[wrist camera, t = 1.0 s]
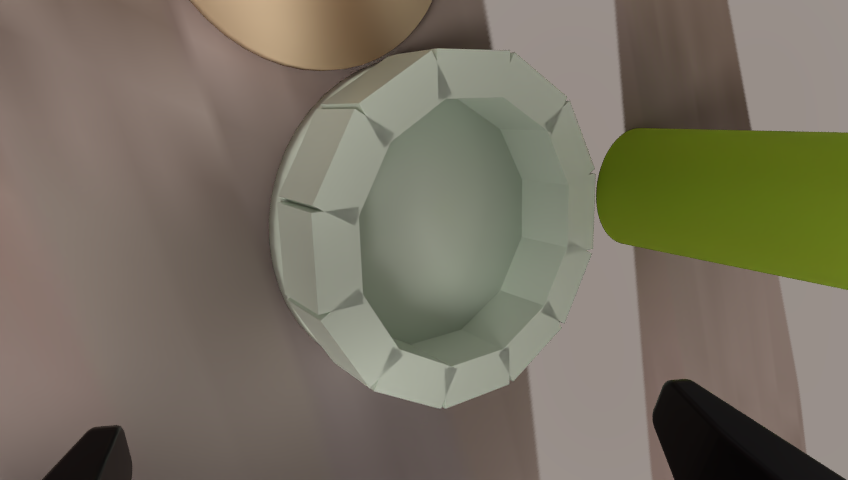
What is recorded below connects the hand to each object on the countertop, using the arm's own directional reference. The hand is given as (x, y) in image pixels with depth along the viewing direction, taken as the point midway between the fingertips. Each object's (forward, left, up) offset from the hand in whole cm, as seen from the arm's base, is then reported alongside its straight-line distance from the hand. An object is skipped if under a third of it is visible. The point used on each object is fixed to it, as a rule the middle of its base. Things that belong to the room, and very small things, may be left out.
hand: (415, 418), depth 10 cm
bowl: (+7, -3, -11) cm, 14 cm away
